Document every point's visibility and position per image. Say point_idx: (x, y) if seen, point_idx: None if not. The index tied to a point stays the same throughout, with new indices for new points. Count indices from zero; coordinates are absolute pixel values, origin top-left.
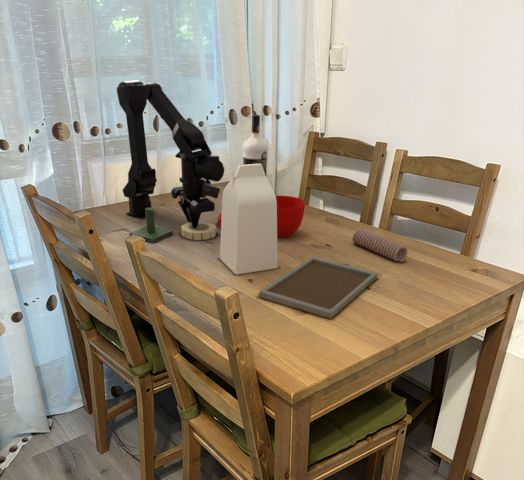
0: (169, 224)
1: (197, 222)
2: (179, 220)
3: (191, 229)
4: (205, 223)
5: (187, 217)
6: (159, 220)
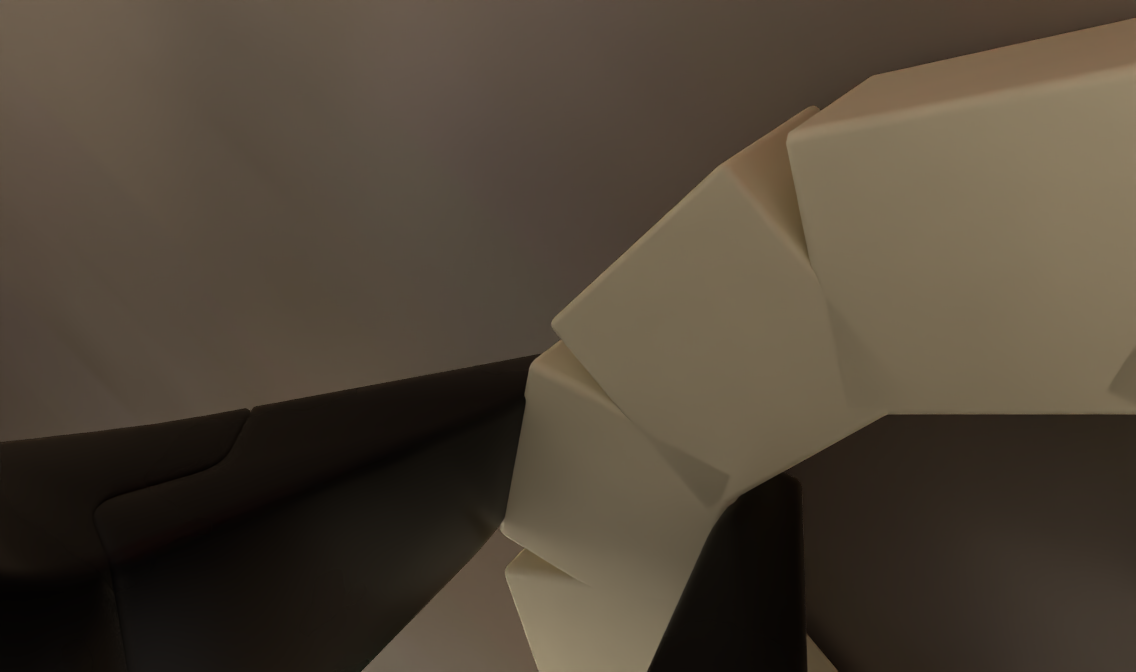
0: (224, 396)
1: (795, 627)
2: (111, 117)
3: None
4: (958, 310)
5: (391, 637)
6: (58, 345)
